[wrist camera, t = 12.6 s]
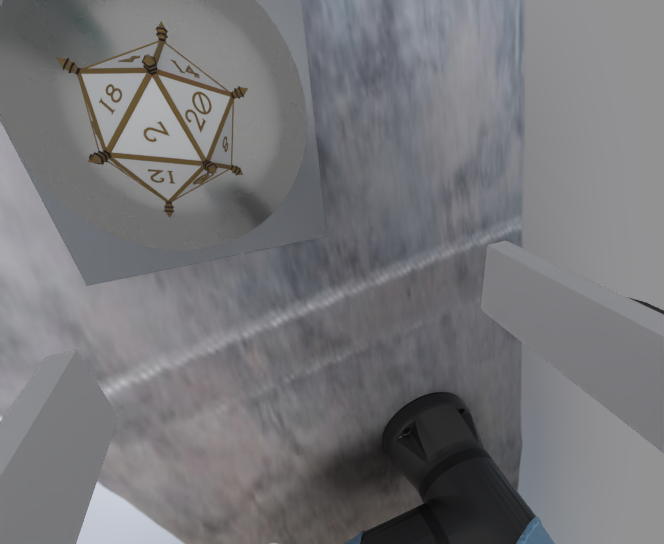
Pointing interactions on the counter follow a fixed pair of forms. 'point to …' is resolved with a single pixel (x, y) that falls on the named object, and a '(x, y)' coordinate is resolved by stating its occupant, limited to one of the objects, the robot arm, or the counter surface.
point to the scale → (277, 230)
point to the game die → (159, 118)
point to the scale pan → (203, 51)
